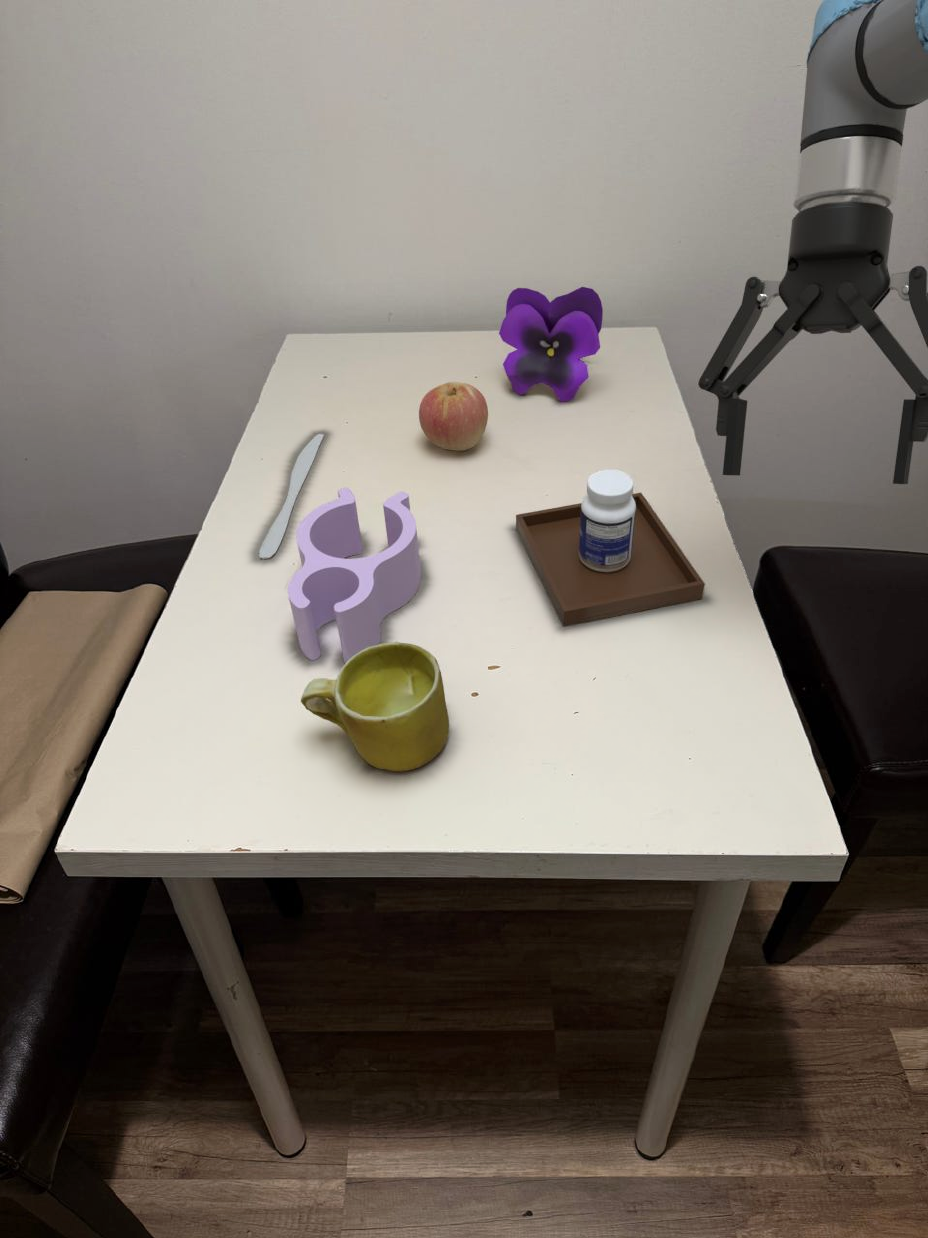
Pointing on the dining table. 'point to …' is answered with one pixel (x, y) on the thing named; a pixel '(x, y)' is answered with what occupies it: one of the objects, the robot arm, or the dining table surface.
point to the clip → (352, 573)
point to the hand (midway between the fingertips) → (811, 479)
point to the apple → (453, 416)
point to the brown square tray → (596, 595)
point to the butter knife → (290, 498)
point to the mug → (386, 705)
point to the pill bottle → (607, 521)
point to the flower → (551, 339)
